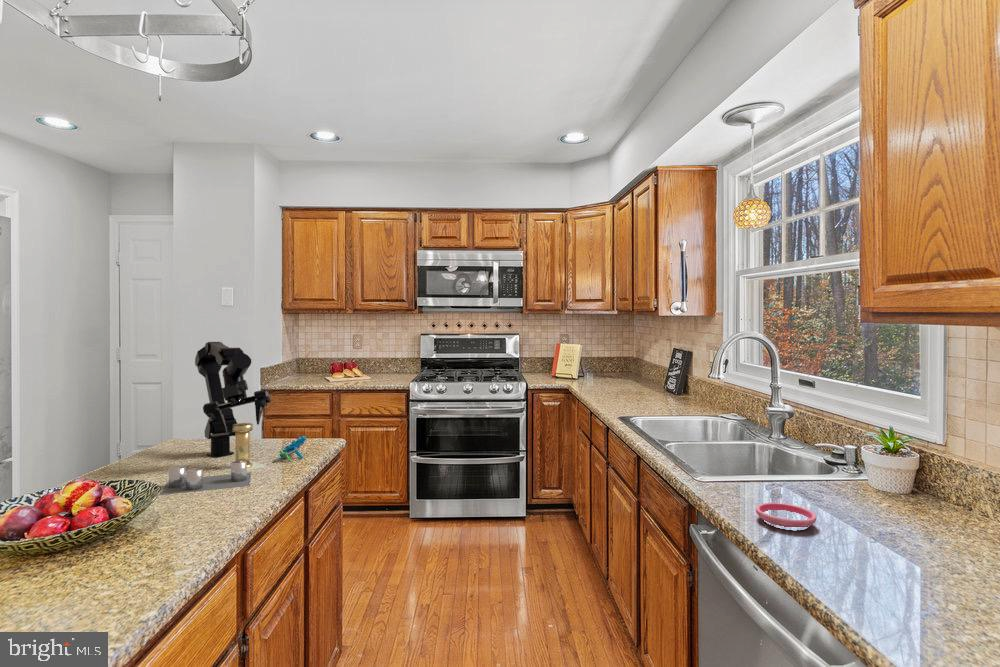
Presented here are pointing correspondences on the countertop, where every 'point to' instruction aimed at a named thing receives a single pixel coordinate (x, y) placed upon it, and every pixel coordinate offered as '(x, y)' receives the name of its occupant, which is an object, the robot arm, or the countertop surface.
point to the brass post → (242, 442)
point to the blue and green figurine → (293, 448)
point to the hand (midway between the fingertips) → (242, 428)
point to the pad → (256, 465)
